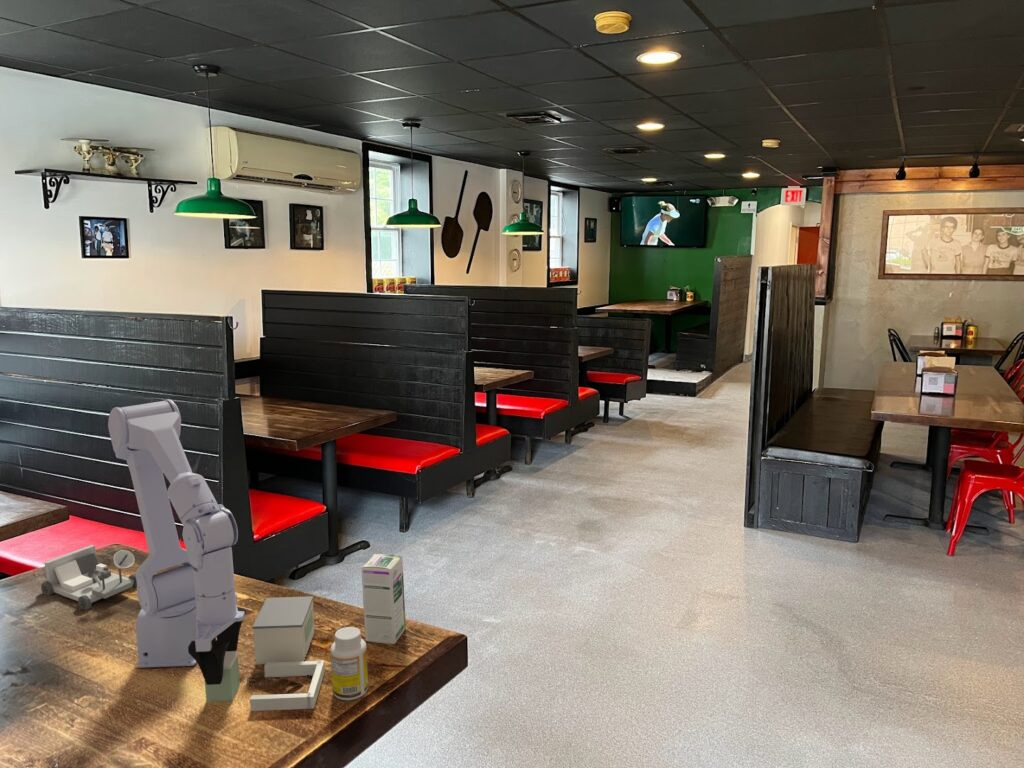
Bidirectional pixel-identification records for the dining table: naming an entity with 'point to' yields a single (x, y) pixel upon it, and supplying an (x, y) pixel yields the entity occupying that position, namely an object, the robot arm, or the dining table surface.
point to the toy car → (87, 576)
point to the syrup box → (383, 598)
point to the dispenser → (283, 630)
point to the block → (225, 680)
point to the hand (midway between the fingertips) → (221, 669)
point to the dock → (290, 699)
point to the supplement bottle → (349, 664)
